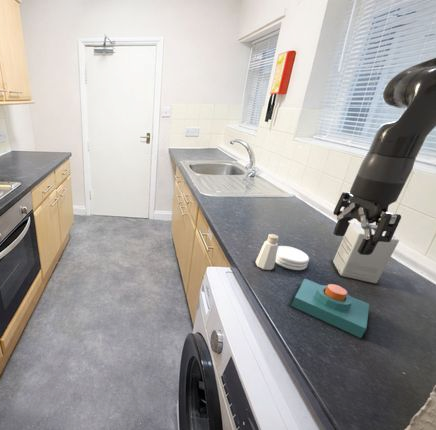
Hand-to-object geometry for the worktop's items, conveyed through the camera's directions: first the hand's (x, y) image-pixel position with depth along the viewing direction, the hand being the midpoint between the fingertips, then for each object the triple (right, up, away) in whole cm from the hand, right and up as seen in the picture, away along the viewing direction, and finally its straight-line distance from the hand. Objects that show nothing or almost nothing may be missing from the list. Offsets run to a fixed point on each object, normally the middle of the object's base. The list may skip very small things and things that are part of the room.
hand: (350, 243), depth 61 cm
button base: (0, -18, +7) cm, 19 cm away
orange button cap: (0, -14, +5) cm, 14 cm away
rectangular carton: (+21, -11, +22) cm, 32 cm away
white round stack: (+3, -9, +26) cm, 28 cm away
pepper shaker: (-6, -10, +24) cm, 27 cm away
